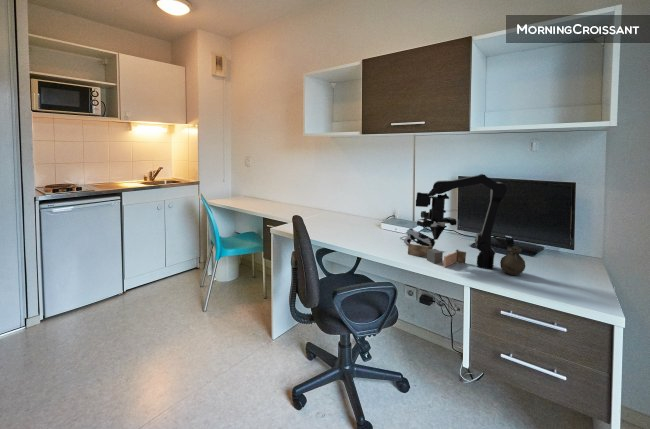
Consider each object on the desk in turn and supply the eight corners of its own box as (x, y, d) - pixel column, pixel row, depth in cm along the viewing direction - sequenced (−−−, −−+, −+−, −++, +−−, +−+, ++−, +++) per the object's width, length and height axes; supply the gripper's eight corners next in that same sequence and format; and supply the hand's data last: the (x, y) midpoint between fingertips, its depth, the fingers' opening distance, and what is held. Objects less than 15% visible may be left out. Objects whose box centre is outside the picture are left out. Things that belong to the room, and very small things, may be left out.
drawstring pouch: (515, 269, 156) (518, 244, 154) (529, 277, 147) (532, 250, 145) (495, 270, 156) (497, 244, 154) (506, 277, 147) (509, 250, 144)
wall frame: (465, 262, 166) (466, 250, 165) (464, 263, 164) (465, 251, 163) (408, 253, 180) (409, 242, 179) (407, 254, 179) (408, 243, 177)
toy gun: (428, 256, 188) (435, 240, 185) (402, 242, 197) (407, 227, 194) (430, 255, 190) (436, 239, 186) (403, 242, 199) (409, 226, 195)
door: (454, 261, 167) (455, 251, 166) (456, 261, 166) (457, 251, 165) (443, 266, 159) (444, 256, 158) (445, 267, 159) (446, 256, 158)
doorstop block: (426, 260, 170) (427, 249, 169) (434, 259, 171) (435, 248, 170) (434, 264, 164) (434, 252, 163) (442, 263, 165) (442, 252, 164)
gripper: (443, 204, 173) (441, 234, 176) (411, 205, 167) (409, 237, 170) (458, 207, 163) (456, 239, 165) (424, 209, 157) (422, 242, 160)
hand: (435, 239), depth 165 cm, fingers closed
